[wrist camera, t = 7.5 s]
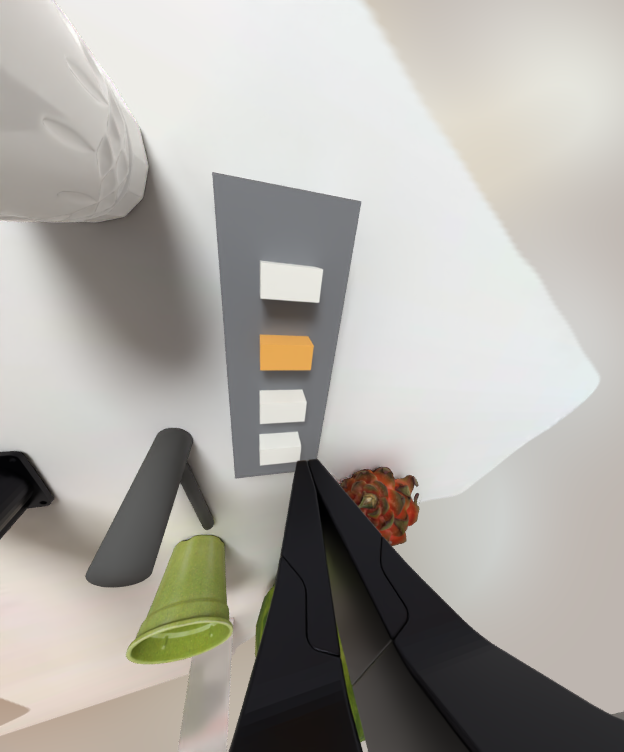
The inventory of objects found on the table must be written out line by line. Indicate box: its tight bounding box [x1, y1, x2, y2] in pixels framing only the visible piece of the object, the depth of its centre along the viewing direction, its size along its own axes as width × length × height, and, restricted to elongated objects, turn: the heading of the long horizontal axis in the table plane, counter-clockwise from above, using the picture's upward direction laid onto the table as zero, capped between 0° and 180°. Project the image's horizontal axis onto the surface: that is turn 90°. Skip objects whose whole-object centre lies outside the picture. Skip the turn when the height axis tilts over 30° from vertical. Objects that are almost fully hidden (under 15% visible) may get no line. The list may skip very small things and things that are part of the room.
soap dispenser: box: [178, 618, 234, 752], centre depth 34 cm, size 6×9×22 cm
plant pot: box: [126, 535, 233, 664], centre depth 26 cm, size 9×9×9 cm
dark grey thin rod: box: [180, 462, 214, 530], centre depth 24 cm, size 11×1×1 cm, turn 1°
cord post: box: [86, 428, 193, 587], centre depth 17 cm, size 3×3×10 cm
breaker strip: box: [212, 172, 361, 478], centre depth 16 cm, size 20×7×6 cm, turn 173°
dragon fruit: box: [340, 467, 420, 546], centre depth 28 cm, size 8×8×12 cm
